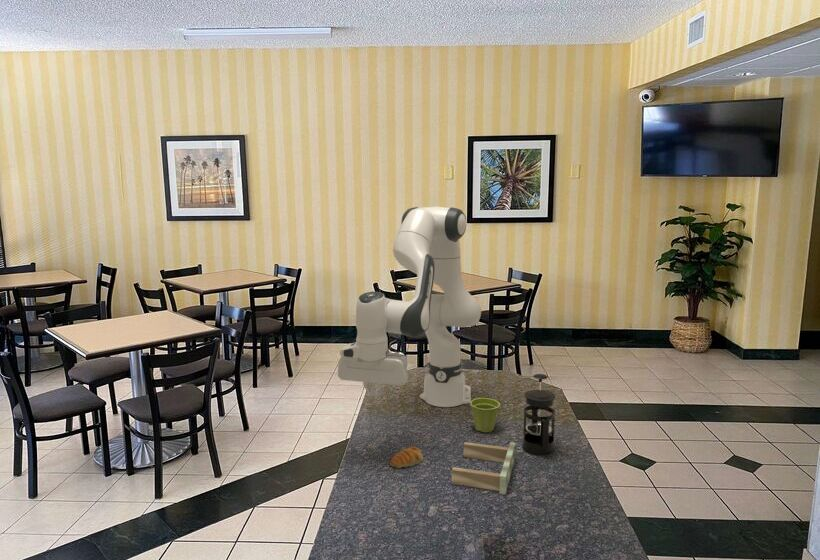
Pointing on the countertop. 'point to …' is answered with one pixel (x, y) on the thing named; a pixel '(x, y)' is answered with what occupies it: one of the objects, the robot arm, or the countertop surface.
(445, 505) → the countertop surface
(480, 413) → the plant pot
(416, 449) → the pastry
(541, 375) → the french press
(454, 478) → the wooden wall rack
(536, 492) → the countertop surface
